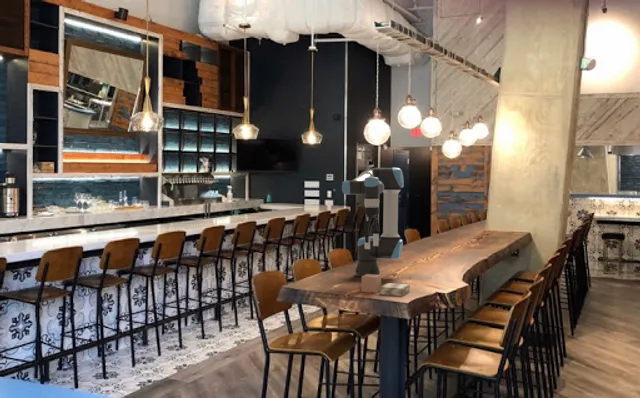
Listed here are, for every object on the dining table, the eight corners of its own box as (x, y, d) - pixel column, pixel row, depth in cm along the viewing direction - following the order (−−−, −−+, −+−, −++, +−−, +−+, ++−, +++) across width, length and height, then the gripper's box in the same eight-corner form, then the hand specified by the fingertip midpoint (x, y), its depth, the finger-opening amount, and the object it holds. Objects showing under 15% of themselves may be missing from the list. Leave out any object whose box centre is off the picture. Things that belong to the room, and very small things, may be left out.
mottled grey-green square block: (380, 294, 321) (380, 286, 320) (387, 290, 332) (387, 282, 331) (403, 296, 316) (403, 288, 316) (409, 292, 327) (409, 284, 327)
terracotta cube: (361, 291, 327) (361, 276, 327) (366, 289, 334) (366, 274, 334) (376, 292, 324) (376, 277, 323) (381, 290, 331) (381, 275, 331)
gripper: (370, 208, 314) (370, 250, 315) (385, 205, 337) (385, 245, 338) (356, 208, 317) (356, 249, 318) (372, 205, 340) (372, 244, 341)
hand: (371, 247), depth 328 cm, fingers open, 13 cm apart
